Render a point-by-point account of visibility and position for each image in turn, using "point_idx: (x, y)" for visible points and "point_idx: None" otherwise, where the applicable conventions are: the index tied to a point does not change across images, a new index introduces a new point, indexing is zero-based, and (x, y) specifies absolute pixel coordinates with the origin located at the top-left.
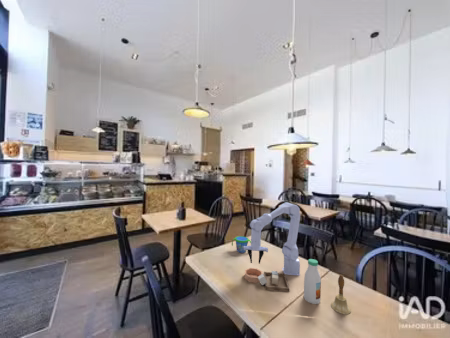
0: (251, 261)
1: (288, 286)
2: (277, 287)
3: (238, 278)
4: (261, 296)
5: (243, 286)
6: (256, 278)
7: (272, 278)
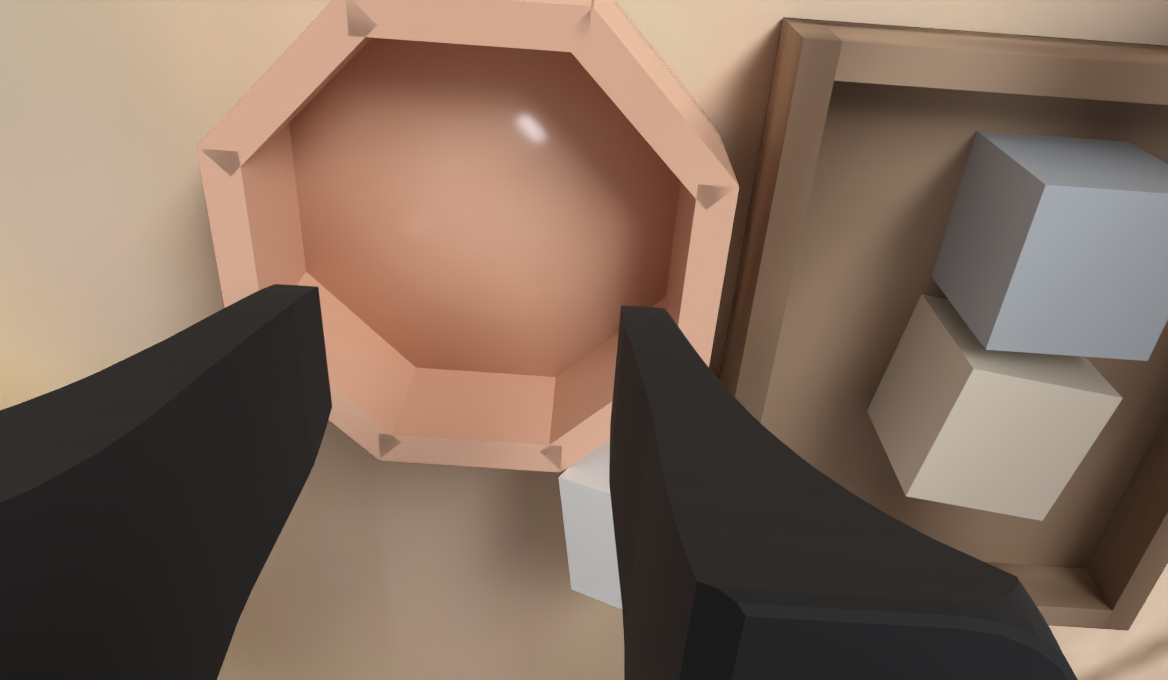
0: (296, 469)
1: (1148, 583)
2: None
3: (133, 235)
4: (595, 658)
5: None
6: (533, 459)
7: (911, 488)
